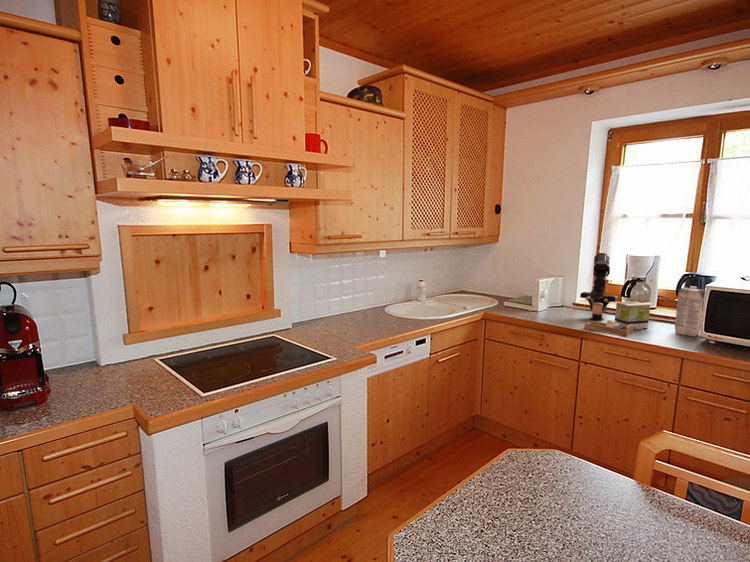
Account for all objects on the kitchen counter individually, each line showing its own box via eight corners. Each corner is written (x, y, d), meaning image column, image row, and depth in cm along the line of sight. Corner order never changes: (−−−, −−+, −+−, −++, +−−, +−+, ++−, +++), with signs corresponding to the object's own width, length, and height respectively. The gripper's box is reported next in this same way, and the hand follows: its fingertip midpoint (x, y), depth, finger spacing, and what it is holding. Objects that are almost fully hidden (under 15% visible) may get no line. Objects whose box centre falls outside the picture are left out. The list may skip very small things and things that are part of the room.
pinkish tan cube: (594, 311, 247) (594, 301, 246) (604, 313, 243) (604, 303, 242) (590, 313, 243) (591, 303, 243) (600, 314, 240) (601, 304, 239)
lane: (590, 325, 252) (590, 317, 251) (632, 332, 236) (633, 324, 235) (584, 328, 245) (584, 320, 244) (627, 336, 229) (628, 327, 228)
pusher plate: (618, 330, 239) (619, 323, 239) (623, 331, 238) (624, 324, 237) (615, 333, 235) (615, 325, 234) (620, 334, 233) (620, 326, 232)
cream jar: (607, 329, 243) (608, 319, 242) (617, 331, 239) (618, 321, 238) (604, 331, 239) (605, 321, 238) (614, 333, 235) (615, 322, 234)
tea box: (627, 330, 240) (630, 305, 238) (613, 326, 250) (615, 302, 248) (648, 328, 244) (650, 304, 242) (633, 324, 254) (635, 300, 251)
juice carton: (695, 337, 226) (701, 288, 222) (672, 333, 234) (677, 286, 230) (700, 335, 231) (706, 286, 227) (678, 330, 239) (684, 284, 235)
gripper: (577, 284, 242) (575, 310, 244) (613, 288, 229) (610, 316, 231) (584, 282, 250) (582, 307, 252) (619, 286, 236) (617, 313, 239)
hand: (597, 311), depth 243 cm, fingers closed on pinkish tan cube, 5 cm apart
